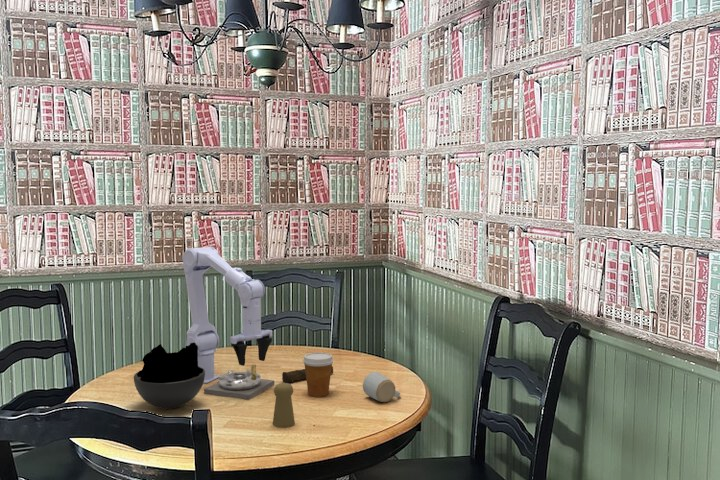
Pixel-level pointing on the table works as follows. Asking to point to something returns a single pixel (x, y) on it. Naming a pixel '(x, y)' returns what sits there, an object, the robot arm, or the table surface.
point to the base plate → (240, 394)
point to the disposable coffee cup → (318, 373)
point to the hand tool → (295, 375)
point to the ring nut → (240, 379)
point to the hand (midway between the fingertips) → (251, 362)
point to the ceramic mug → (379, 387)
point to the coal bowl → (170, 377)
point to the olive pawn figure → (283, 406)
